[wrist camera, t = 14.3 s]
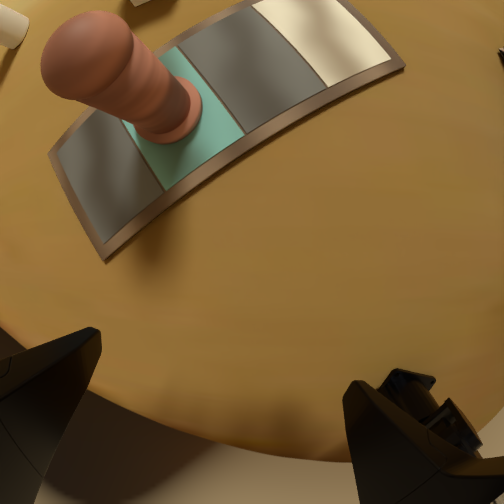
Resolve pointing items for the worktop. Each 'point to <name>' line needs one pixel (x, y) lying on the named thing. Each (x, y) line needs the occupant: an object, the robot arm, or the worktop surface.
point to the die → (138, 2)
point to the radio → (502, 52)
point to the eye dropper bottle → (12, 27)
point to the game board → (218, 107)
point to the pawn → (119, 77)
